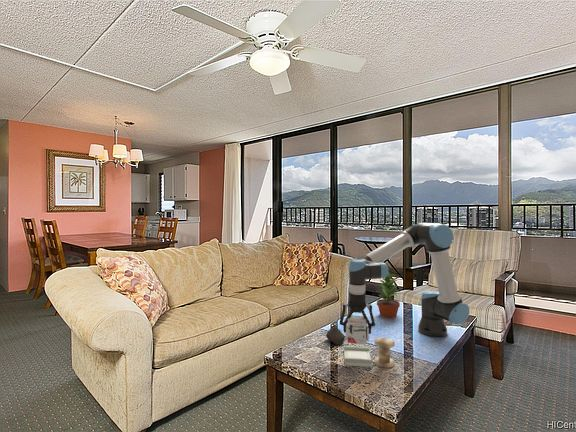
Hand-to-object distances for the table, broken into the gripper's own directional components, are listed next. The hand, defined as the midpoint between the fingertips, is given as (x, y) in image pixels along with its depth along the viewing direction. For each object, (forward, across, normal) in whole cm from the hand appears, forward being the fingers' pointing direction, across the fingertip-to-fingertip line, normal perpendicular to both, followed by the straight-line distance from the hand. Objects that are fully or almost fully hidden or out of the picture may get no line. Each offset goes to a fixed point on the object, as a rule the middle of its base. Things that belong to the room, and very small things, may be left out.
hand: (357, 339), depth 154 cm
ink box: (+1, 0, 0) cm, 1 cm away
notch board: (+9, 0, 0) cm, 9 cm away
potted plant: (+9, -25, -64) cm, 69 cm away
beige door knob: (+9, -12, +3) cm, 15 cm away
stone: (+9, +10, -18) cm, 23 cm away
